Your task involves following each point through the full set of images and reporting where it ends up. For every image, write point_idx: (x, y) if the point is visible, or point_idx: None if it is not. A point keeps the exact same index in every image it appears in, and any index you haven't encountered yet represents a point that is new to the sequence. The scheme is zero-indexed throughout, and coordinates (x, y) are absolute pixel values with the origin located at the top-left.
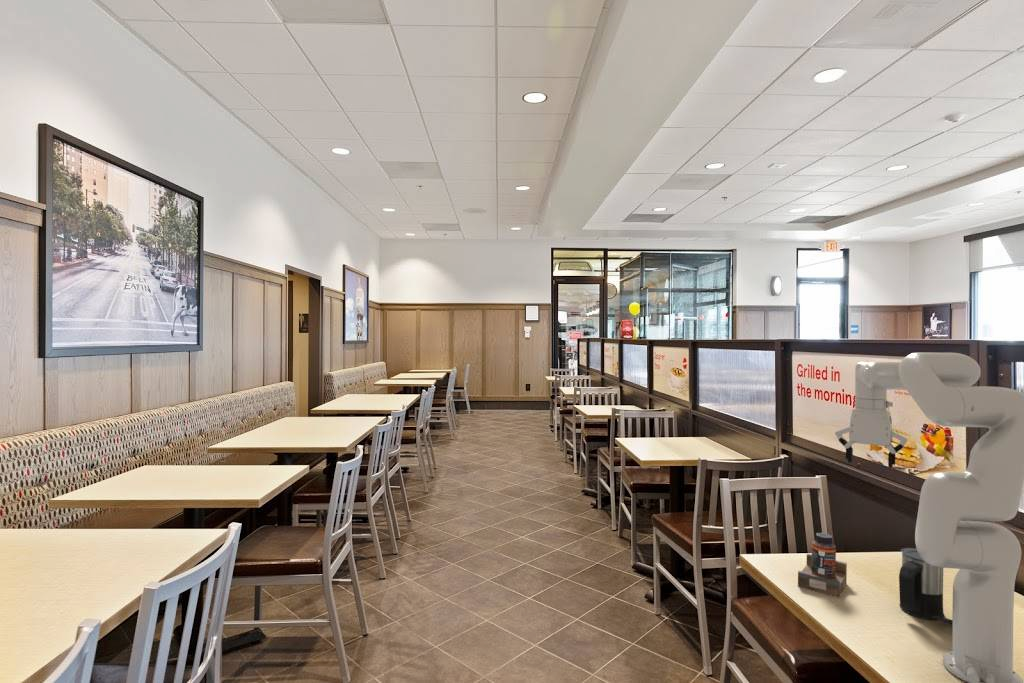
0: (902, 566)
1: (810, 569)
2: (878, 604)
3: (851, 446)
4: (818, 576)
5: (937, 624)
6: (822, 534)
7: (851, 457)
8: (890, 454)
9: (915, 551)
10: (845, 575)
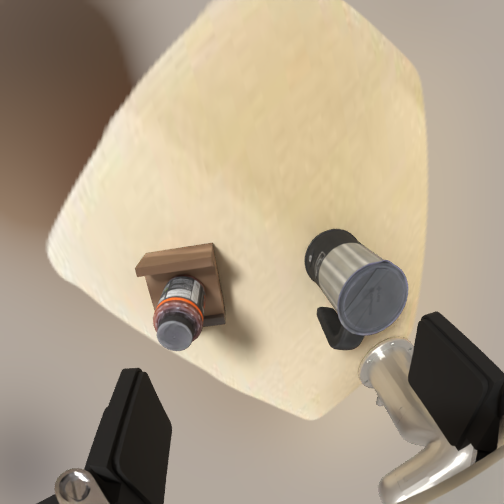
0: (339, 347)
1: (158, 285)
2: (278, 285)
3: (123, 501)
4: None
5: None
6: (169, 335)
7: (161, 441)
8: (462, 443)
9: (362, 288)
10: (213, 260)
